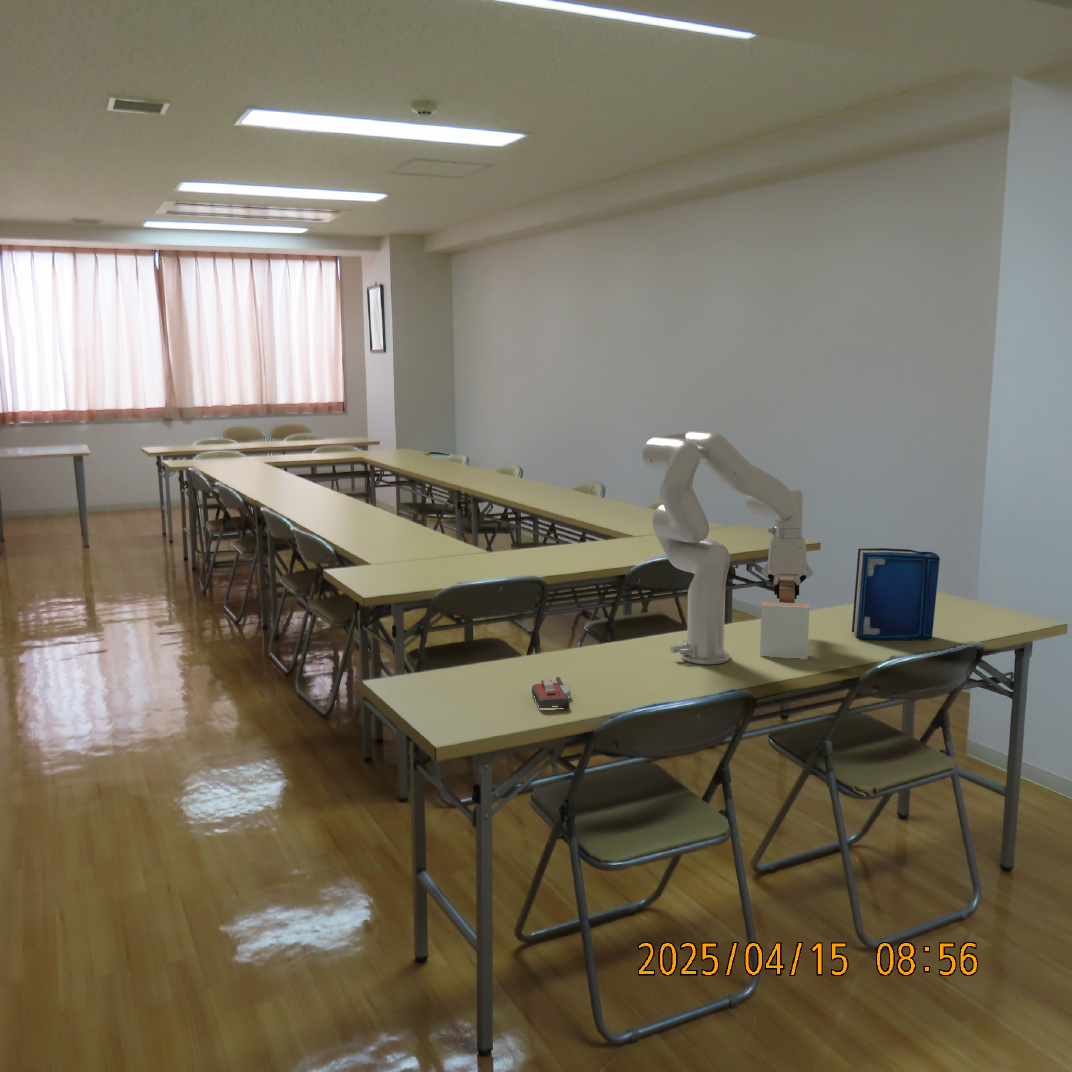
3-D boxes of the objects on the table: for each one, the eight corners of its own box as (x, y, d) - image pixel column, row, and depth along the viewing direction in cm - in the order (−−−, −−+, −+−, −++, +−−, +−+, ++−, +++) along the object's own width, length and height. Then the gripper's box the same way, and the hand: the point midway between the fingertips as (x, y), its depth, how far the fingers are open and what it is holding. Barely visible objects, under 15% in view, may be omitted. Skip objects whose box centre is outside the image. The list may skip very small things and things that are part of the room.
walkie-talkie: (578, 712, 208) (562, 683, 227) (578, 693, 207) (561, 666, 226) (539, 715, 206) (526, 685, 226) (539, 696, 206) (526, 668, 225)
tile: (807, 659, 241) (809, 607, 239) (760, 656, 244) (761, 605, 242) (806, 655, 245) (808, 603, 243) (760, 652, 248) (761, 601, 246)
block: (794, 607, 248) (794, 589, 247) (779, 606, 249) (779, 588, 248) (793, 590, 265) (794, 573, 264) (779, 590, 266) (779, 573, 265)
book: (929, 634, 262) (934, 547, 258) (937, 641, 255) (943, 552, 251) (850, 633, 264) (854, 547, 260) (856, 640, 257) (861, 552, 253)
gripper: (756, 535, 252) (755, 600, 256) (820, 536, 248) (818, 602, 251) (756, 530, 259) (756, 593, 263) (819, 530, 255) (817, 595, 259)
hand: (786, 597), depth 257 cm, fingers closed on block, 4 cm apart
